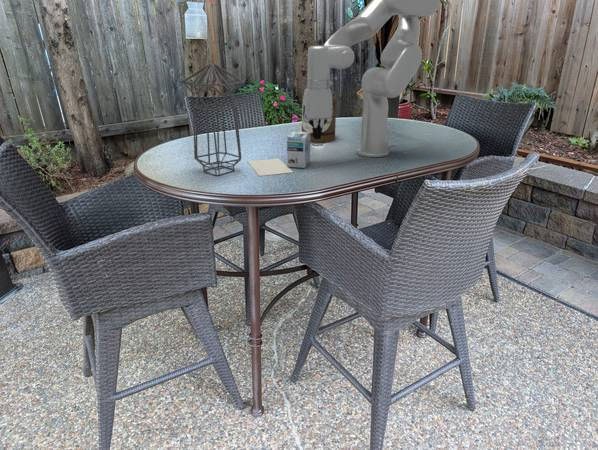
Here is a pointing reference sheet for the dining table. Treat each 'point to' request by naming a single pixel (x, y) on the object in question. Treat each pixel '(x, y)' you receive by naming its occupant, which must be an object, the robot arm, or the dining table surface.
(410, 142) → the dining table surface
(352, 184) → the dining table surface
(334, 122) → the wooden container
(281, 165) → the mat
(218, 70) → the geometric lantern
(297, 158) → the light bulb box
